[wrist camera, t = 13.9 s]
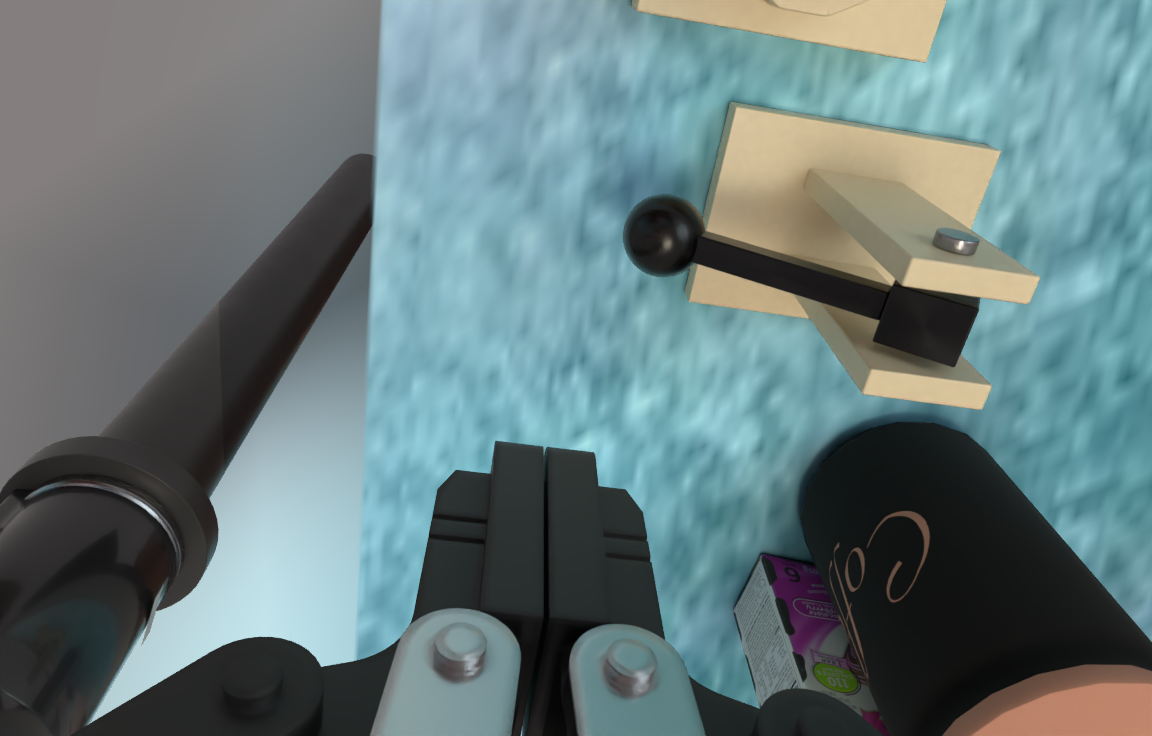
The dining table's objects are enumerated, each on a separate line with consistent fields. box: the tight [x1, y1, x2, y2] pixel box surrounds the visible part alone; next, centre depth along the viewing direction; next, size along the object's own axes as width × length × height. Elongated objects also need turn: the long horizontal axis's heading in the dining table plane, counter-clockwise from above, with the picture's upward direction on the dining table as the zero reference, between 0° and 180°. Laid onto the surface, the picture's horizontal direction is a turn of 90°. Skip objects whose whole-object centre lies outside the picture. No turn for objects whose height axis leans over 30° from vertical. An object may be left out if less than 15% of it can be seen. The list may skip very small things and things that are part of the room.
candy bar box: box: [733, 554, 889, 736], centre depth 42 cm, size 11×5×16 cm, turn 75°
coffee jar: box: [801, 422, 1152, 736], centre depth 38 cm, size 11×11×18 cm
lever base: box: [685, 102, 1040, 410], centre depth 33 cm, size 12×9×13 cm
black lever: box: [623, 194, 980, 367], centre depth 31 cm, size 13×3×3 cm, turn 81°
